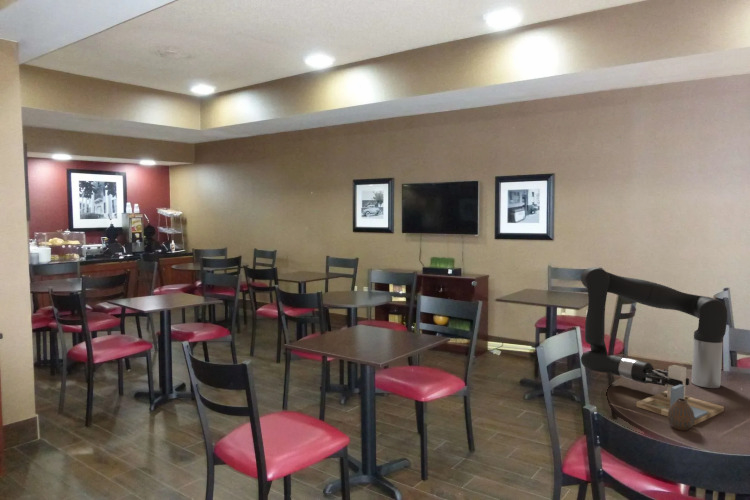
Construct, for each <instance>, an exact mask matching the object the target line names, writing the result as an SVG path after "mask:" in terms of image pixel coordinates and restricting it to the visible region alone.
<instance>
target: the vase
mask: <svg viewBox="0 0 750 500" xmlns="http://www.w3.org/2000/svg"><path fill="white" fill-rule="evenodd" d="M667 419H668V423H669V424H670V425H671V426H672V427H673V428H674V429H676V430H677V431H678V430H679V431H688V430H691V428H692V427H693V426H694V425H693V424H694V419H695V417H694V412H693V410H692V408H691V407H690V406H689V404H688V403H687V400H685V399H682V398H678V399H677V400H676V402H675V403H673V404H672V405H671V406H670V408H669V411H668V416H667Z"/></svg>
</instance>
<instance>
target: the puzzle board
mask: <svg viewBox="0 0 750 500" xmlns="http://www.w3.org/2000/svg"><path fill="white" fill-rule="evenodd" d="M670 400H671V398H667V390H665V391H662V392H660V393H657V394H654V395H652V396H649V397H646V398H644V399H641V400H638V401H636V407H637V408H640V409H643V410H646V411H650V412H651V413H656V414H659V415H662V416H665V417H668V411H669V408H670ZM685 400H687V403H688V404H689V406H691V407H695V408H698V409H701V410H705V411H708V413H707V414H705V415H703V416H701V417H699V418H696V419H694V424H693V426H695V425H698V424H700V423H702V422H704V421H706V420H708V419H710V418H713V417H715V416H716V415H718V414H721V413H723V412H724V407H725V406H723V405H720V404H715V403H712V402H709V401H705V400H701V399H698V398H695V397H691V396H687V395H685Z"/></svg>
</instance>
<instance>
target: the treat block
mask: <svg viewBox="0 0 750 500" xmlns="http://www.w3.org/2000/svg"><path fill="white" fill-rule="evenodd" d="M667 370H668V377H669V378H670V379H671V378H672V379H676V380H680V381H682V382H683V385H684V399H685V396H686V388H687V387H686V386H687V385H686V378H687V367H686V366H681V365H677V364H672V365H669V366H668V369H667ZM672 387H674V386H672V385H667V387H666V388H667V390H666V391H667V398H671V388H672Z"/></svg>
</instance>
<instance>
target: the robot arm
mask: <svg viewBox="0 0 750 500" xmlns="http://www.w3.org/2000/svg"><path fill="white" fill-rule="evenodd" d="M580 281H581V284H582V285H583V286H584V287H585V288H586V289H587V296H588V299H587V300H588V303H587V304H588V305H587V311H586V312H587V313H586V317H585V322H584V340H585V343H587V345H590V346H589V347H590V350H588V351H585V352H584V353H582V355H581V356H580V362H581V364H582V365H583V367H584V368H586V369H587V370H590V371H594V372H601V373H608V374H609V373H610V374H612V375H616V376H619V377H622V378H625V379H628V380H631V381H635V382H638V383H642V384H645V385H646V384H653V385H657V386H658V385H659V386H663V387H665V386H668V385H672V386H677V385H680V384H681V385H683V382H682V381H680V380H676V379H672V378H671V379H670V378H669V377H668V369H667V368H664V369H663V370H662V369H661V368H660V369H659V368H654V366H653V365H652V364H651V363H650V362H646V361H643V360H640V359H639V360H638V359H634V358H628V357H623V356H620V355H610V354H609V355H608V350H607V345H606V342H605V332H606V331H605V327H606V326H605V325H606V323H605V322H606V320H605V319H606V317H605V316H606V303H607V295H608V294H609V293H611V294H613V295H617V296H619V297H622V298H624V299H627V300H630V301H632V302H635V303H637V304H641V305H644V306H648V307H652V308H655V309H660V310H661V309H663V310H672V311H678V312H681V313H683V314H684V313H685V314H686V315H690V316H692V317H695V318H697V319H698V327H697V329H695V330H694V332H693V345H692V346H693V347H692V361H691V362H692V364H691V366H692V367H691V379H690V378H688V377H686V386H689V385H690V382H691V383H692V385H695V386H698V387H701V388H706V389H719V388H720V387H721V379H722V378H721V377H722V361H723V360H722V358H723V341H724V337H725V335H726V331H727V321H728V310H727V309H728V308H727V306H726V304H725V303H723V302H722V301H721V300H719V299H716V298H714V297H712V296H711V297H710V296H704V295H697V294H691V293H687V292H682V291H679V290H677V289H675V288H672V287H670V286H667V285H663V284H661V283H656V282H653V281H649V280H645V279H640V278H635V277H634V278H632V277H627V276H626V277H625V276H621V275H616V274H614V273H610V272H608V271H606V270H605V269H603V268H601V267H595V266H592V267H588V268H587V269H585V270H584V271H582V273H581V275H580ZM690 380H691V381H690Z"/></svg>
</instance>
